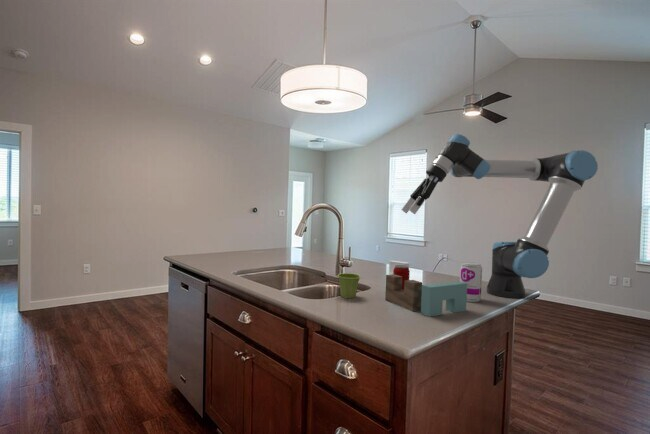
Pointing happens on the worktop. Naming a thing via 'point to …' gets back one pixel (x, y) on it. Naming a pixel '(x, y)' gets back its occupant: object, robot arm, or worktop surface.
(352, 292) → the plant pot
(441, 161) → the robot arm
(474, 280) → the supplement can
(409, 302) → the brown wooden notched block
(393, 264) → the cylinder with rectangular tab
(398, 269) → the beverage can
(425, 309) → the teal tunnel brick
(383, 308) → the worktop surface
